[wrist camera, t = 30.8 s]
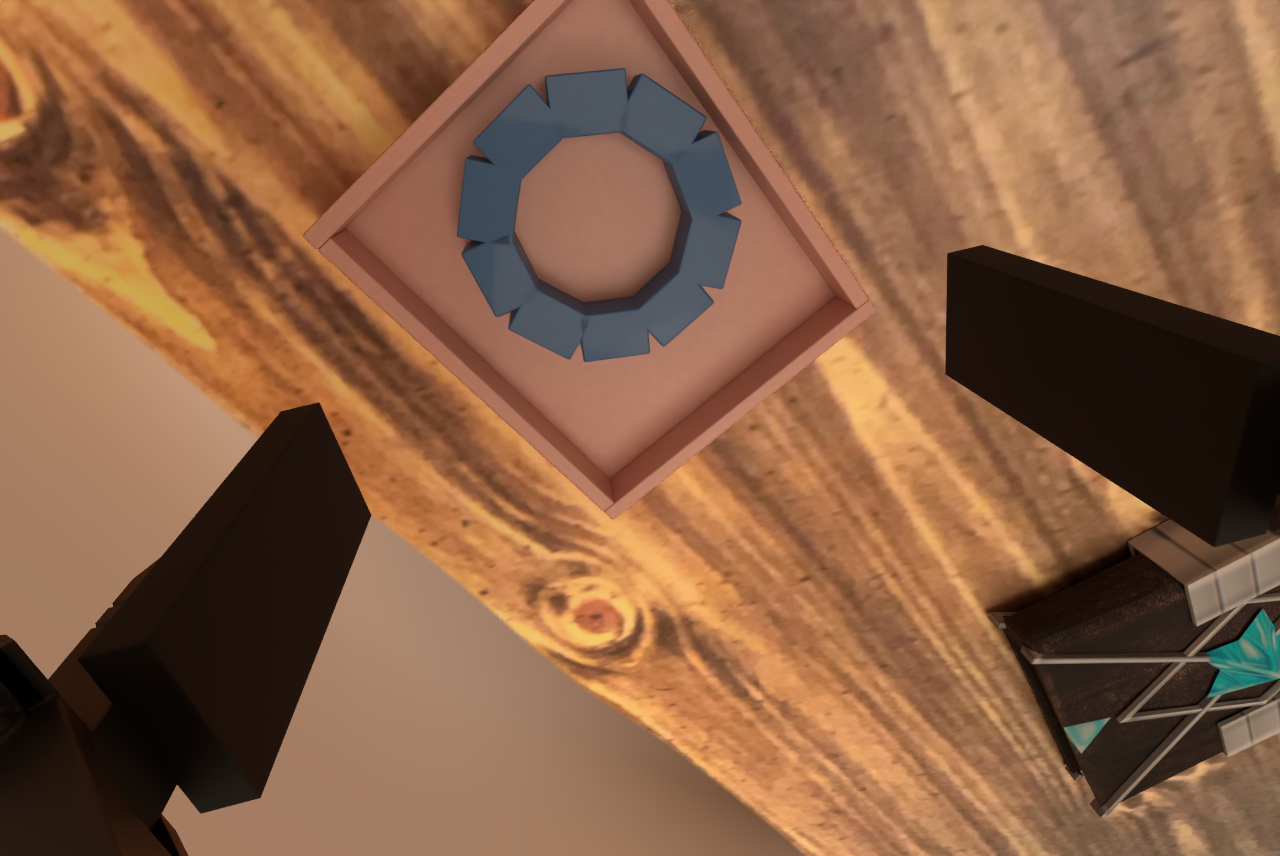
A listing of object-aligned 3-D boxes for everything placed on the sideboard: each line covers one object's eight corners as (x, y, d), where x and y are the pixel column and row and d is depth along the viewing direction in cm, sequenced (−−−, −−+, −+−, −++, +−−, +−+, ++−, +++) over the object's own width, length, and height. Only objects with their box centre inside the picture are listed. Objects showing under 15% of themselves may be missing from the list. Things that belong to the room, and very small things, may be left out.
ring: (451, 324, 25) (445, 339, 23) (483, 35, 21) (479, 29, 20) (688, 365, 27) (698, 381, 25) (757, 107, 23) (773, 107, 22)
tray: (324, 223, 23) (301, 236, 21) (606, -62, 21) (613, -82, 19) (607, 489, 30) (613, 520, 27) (850, 293, 27) (877, 310, 25)
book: (1375, 403, 34) (1504, 448, 29) (1383, 611, 41) (1486, 673, 36) (983, 610, 36) (1046, 681, 32) (1057, 771, 43) (1116, 847, 39)
